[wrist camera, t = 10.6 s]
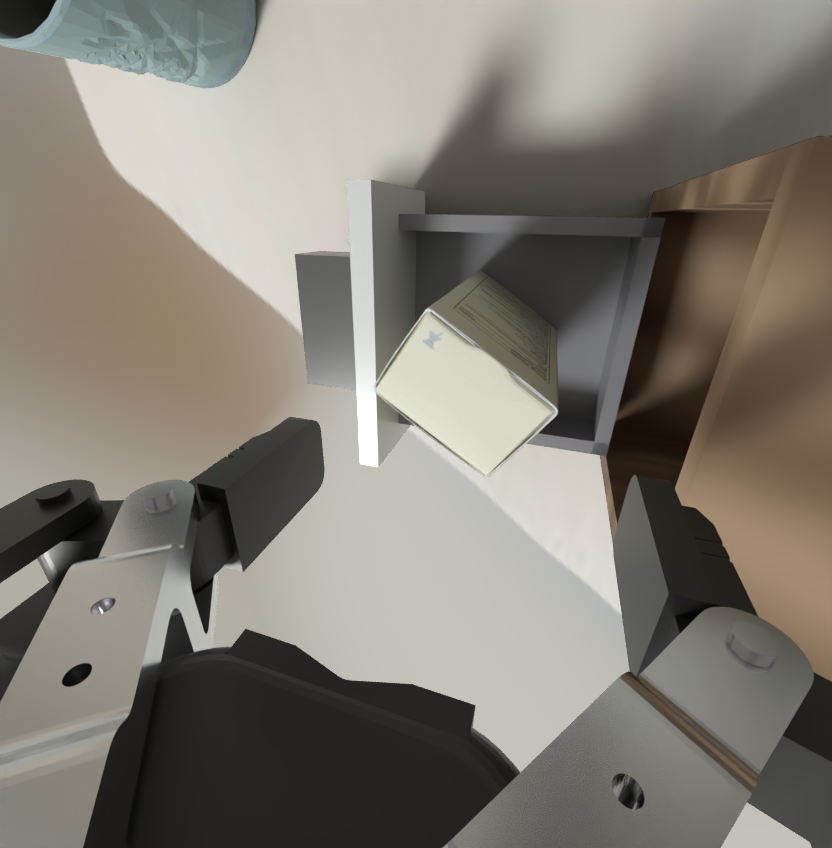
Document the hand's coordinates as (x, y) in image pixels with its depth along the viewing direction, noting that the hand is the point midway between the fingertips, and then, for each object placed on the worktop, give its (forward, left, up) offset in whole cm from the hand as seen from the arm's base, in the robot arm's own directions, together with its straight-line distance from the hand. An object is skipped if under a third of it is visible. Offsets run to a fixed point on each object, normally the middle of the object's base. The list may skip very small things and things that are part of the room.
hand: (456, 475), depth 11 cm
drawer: (0, -3, -19) cm, 20 cm away
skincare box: (0, -1, -18) cm, 18 cm away
